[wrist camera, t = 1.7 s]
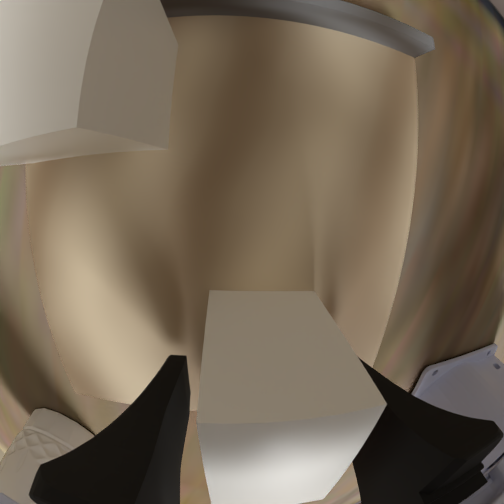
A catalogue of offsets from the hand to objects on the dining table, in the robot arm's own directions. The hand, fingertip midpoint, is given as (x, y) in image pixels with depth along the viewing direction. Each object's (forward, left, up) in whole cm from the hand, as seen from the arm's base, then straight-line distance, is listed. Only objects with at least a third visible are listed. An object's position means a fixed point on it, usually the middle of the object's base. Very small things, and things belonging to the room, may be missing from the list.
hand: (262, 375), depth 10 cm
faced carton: (+6, -10, -1) cm, 12 cm away
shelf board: (+2, -5, -2) cm, 6 cm away
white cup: (+14, +11, -2) cm, 18 cm away
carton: (0, 0, -1) cm, 1 cm away
